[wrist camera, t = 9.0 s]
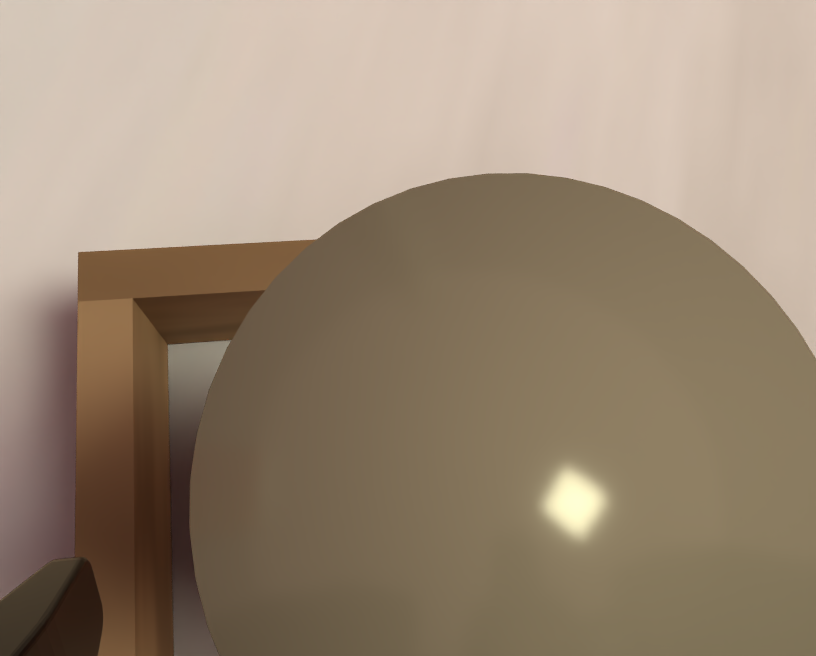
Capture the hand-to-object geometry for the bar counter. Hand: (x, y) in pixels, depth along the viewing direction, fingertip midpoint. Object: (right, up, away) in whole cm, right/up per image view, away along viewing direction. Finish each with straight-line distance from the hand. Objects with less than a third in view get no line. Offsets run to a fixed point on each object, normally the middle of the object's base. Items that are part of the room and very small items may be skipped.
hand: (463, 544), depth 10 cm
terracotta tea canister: (-1, -2, +8) cm, 8 cm away
